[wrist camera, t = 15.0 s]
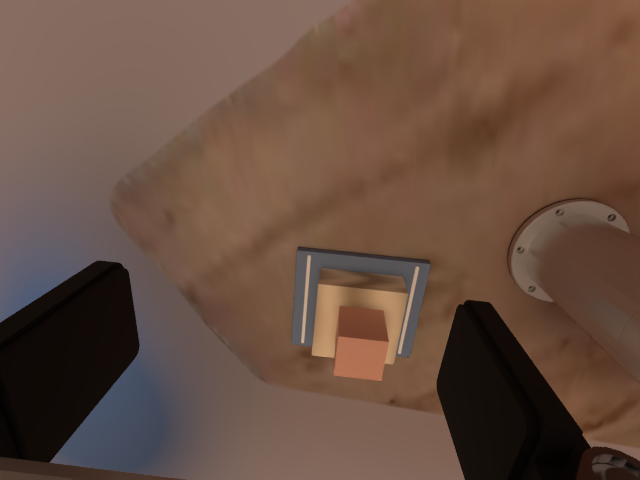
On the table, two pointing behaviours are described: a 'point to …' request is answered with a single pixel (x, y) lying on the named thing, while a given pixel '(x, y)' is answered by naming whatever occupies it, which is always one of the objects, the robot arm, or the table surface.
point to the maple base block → (357, 305)
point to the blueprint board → (316, 259)
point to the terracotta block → (360, 343)
